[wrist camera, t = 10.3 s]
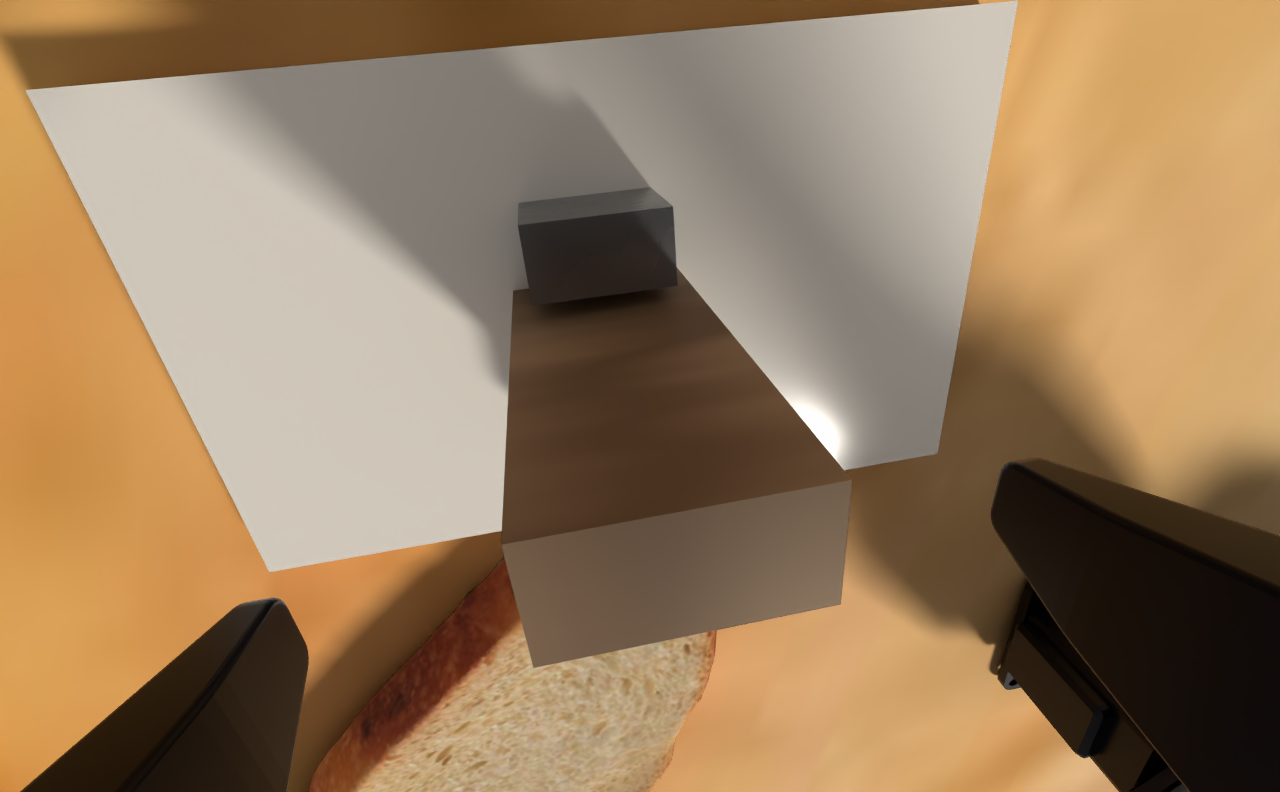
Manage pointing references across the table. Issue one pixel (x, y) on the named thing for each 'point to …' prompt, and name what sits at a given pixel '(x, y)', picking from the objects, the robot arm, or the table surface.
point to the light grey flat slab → (491, 249)
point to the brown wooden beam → (657, 479)
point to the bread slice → (518, 712)
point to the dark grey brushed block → (597, 245)
